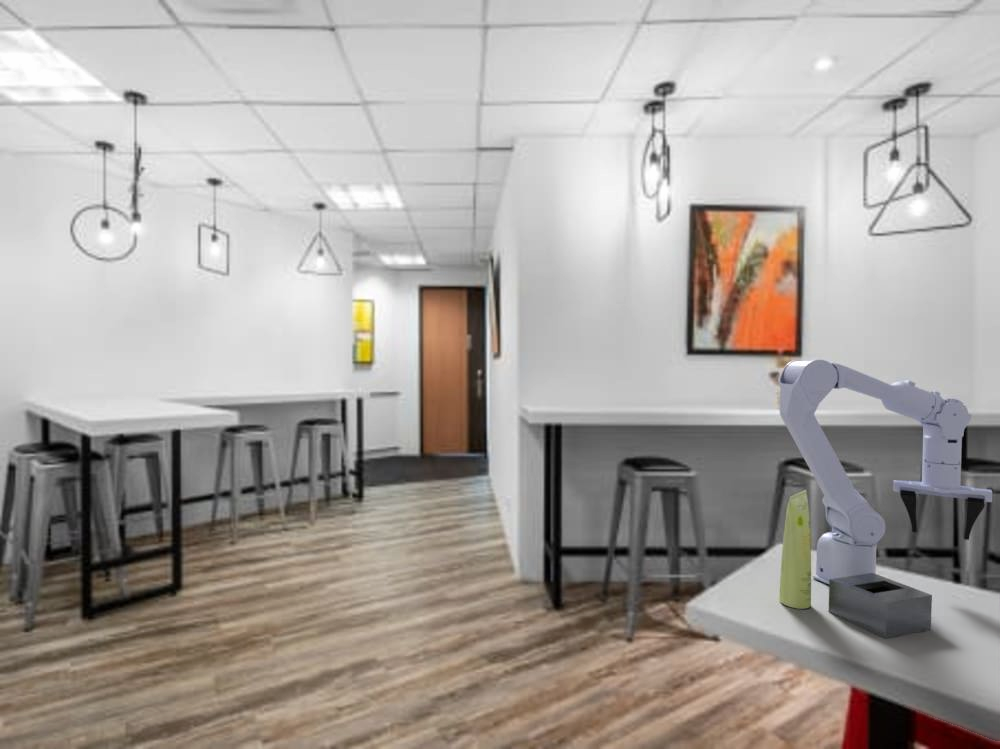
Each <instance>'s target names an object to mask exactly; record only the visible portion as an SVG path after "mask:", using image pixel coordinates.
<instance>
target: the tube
mask: <svg viewBox="0 0 1000 749" xmlns="http://www.w3.org/2000/svg"><path fill="white" fill-rule="evenodd" d="M807 492H808V491H807V489H805V490H802V491H800V492H798V493H796V494H793V495H791V496H789V500H788V503H787V508H786V511H785V512H786V513H785V514H786V515H785V521H784V528H783V529H784V531H783V537H782V538H783V539H782V550H781V565H780V578H779V579H780V581H779V602H780V603H781V604H782V605H785V606H786V607H790V608H793V609H799V610H802V609H803V610H805V609H808V608H810V607H811V606H812V545H811V544H812V542H811V526H810V524H811V523H810V508H809V507H810V506H809V500H808V493H807Z"/></svg>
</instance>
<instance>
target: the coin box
mask: <svg viewBox="0 0 1000 749" xmlns="http://www.w3.org/2000/svg"><path fill="white" fill-rule="evenodd" d="M932 605H933V595H932V594H930V593H928V592H926V591H922V590H919V589H917V588H914V587H911V586H909V585H906V584H903V583H900V582H897V581H895V580H893V579H890V578H887V577H885V576H882V575H879V574H874V573H868V574H862V575H855V576H848V577H841V578H834V579H829V584H828V612H829V613H831V614H833V615H836V616H838V617H840V618H842V619H844V620H846V621H848V622H849V623H850V622H851V623H852V624H854V625H856V626H858V627H860V628H862V629H864V630H867V631H869V632H871V633H873V634H875V635H877V636H879V637H882V638H884V639H889V638H894V637H895V638H896V637H900V636H905V635H910V634H914V633H920V632H925V631H931V630H932V612H933V611H932Z"/></svg>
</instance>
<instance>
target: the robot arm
mask: <svg viewBox="0 0 1000 749" xmlns="http://www.w3.org/2000/svg"><path fill="white" fill-rule="evenodd" d="M777 383H778V386H779V390H780V391H779V415H780V417H781V419H782V421H783V423H784V425H785V427H786V429H787V430H788V432H789V435H791V437H792V439H793V440H794V443H795V445H796V447H797V448H798V450H799V452H800V454H801V456H802V457H803V459H804V461H805V463H806V465H807V466H808V468H809V470H810V472H811V474H812V476H813V477H814V480H815V481H816V483H817V484H818V485H817V486H818V487H819V488H820V490H821V492H822V494H823V498H822V500H821V503H822V504H823V506H824V508H825V519H826V522H827V523H828V525H829V526H830V527H831V532H829V531H828V532H826V533H825V532H824V533H823V534H822V535H821V536H820V537H819V539H818V541H817V545H816V564H815V566H816V568H815V571H816V572H815V574H813V575H812V578H813V579H814V580H818V581H820V582H822V583H824V584H827V585H829V579H834V578H841V577H848V576H855V575H862V574H868V573H874V574H876V573H877V572H876V570H877V546H878V543H879V541H880V540H881V539H882V538H883V537H884V535H885V533H886V522H885V519H884V518H883V517H882V515H881V514H879V513H878V512H877V511H875V510H874V509H873V508H872V506H870V504H869V502H868V501H867V499H865V497H863V496H862V495H861V494H860V493H859V492H858V490H856V488H855V487H854V485H853V483H852V481H851V480H850V478H849V476H848V474H847V472H846V470H845V469H844V467H843V465H842V463H841V461H840V459H839V458H838V455H837V454H836V452H835V450H834V449H833V448H834V447H832V445H831V443H830V442H829V440H828V438H827V436H826V434H825V432H824V430H823V428H822V427H821V425H820V424H819V421H818V420H817V418H816V416H815V413H816V411H817V409H818V407H819V405H820V404H821V403H822V401H823V400H824V399H825V398H826V397H827V396H828V395H829V394H830V392H832V390H833V389H836V390H838V389H839V390H840V389H844V388H845V389H848V390H850V391H853V392H856V393H859V394H862V395H866V396H868V397H871V398H875V399H876V400H881V403H882V405H883V407H884V409H886V410H888V411H890V412H893V413H895V414H899V415H901V416H905V417H907V418H909V419H912V420H914V421H917V422H918V423H920V424H921V425H922V428H923V429H922V430H923V431H922V432H923V433H922V461H921V462H922V466H921V469H922V470H921V481H916V480H915V481H914V480H913V481H912V480H896V479H895V480H893V489H892V490H893V492H894V493H896V492H897V493H899V495H900V498H901V500H902V503H903V505H904V507H905V509H906V512H907V513H908V514H907V515H908V517H909V520H910V525H911V526H910V527H911V533H917V532H918V530H917V529H918V528H917V527H918V526H917V525H918V524H917V494H920V495H926V496H928V495H929V496H937V497H946V498H955V499H963V500H964V501H963V502H964V504H963V506H964V508H963V509H964V510H963V511H964V514H963V516H964V518H963V527H962V528H963V529H962V538H963V540H965V541H966V540H967V541H969V540H970V535H971V532H972V529H973V527H974V525H975V523H976V521H977V519H978V517H979V516H980V514H981V513H982V511H983V510H984V508H985V507H986V506H985V502H986V503H993V491H992V489H986V488H978V487H972V486H965V485H961V482H962V481H961V480H962V479H961V478H962V477H961V476H962V475H961V474H962V448H963V446H962V445H963V442H962V441H963V437H965V436H964V434H965V433H964V432H965V429H966V427H967V426H968V425H969V424H970V422H971V420H972V414H971V413H969V410H968V408H967V406H966V405H965V404H964V402H962V401H961V400H959V399H956V398H948V397H942V396H941V392H939V391H935V390H931V391H929V390H926V389H924V388H920V387H918V386H916V384H917V383H916V382H914V381H912V380H904V381H901V380H900V381H896V382H893V383H890V384H889V383H887V382H885V381H883V380H880V379H878V378H875V377H873V376H871V375H867V374H865V373H862V372H860V371H858V370H855V369H853V368H850V367H848V366H846V365H842V364H840V363H835V362H829V361H827V360H825V359H813V360H802V359H793V360H791V361H789V362H788V363H787V364H786V365H785V366H784V367H783V368H782V371H781V372H780V375H779V377H778V378H777Z"/></svg>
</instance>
